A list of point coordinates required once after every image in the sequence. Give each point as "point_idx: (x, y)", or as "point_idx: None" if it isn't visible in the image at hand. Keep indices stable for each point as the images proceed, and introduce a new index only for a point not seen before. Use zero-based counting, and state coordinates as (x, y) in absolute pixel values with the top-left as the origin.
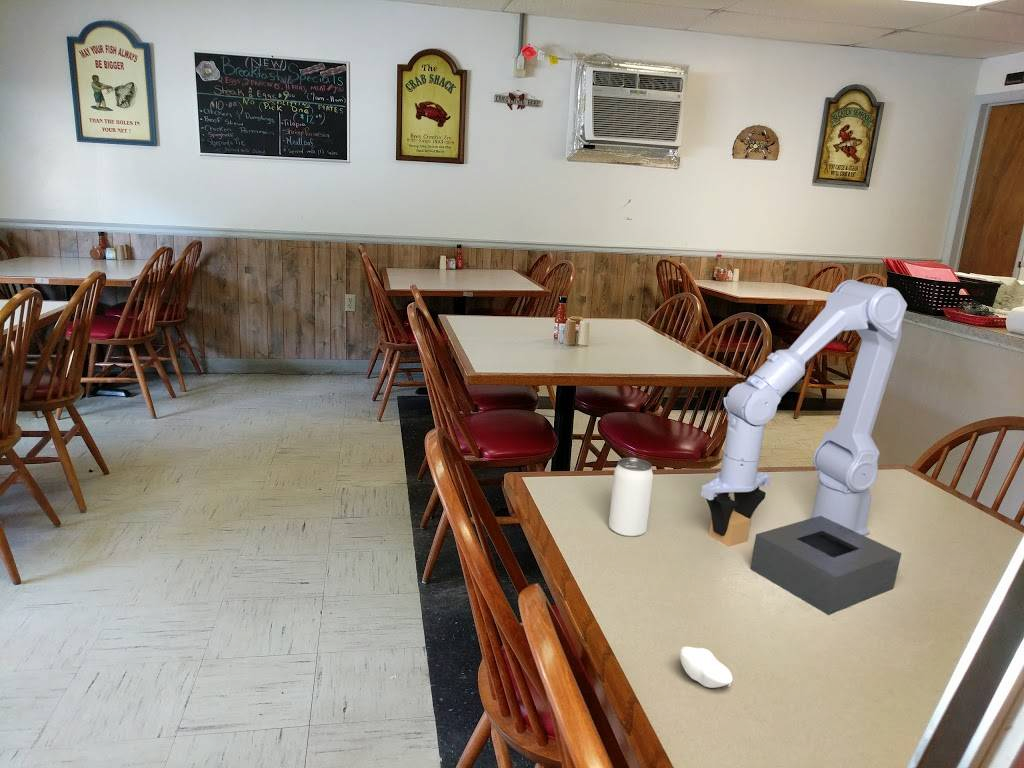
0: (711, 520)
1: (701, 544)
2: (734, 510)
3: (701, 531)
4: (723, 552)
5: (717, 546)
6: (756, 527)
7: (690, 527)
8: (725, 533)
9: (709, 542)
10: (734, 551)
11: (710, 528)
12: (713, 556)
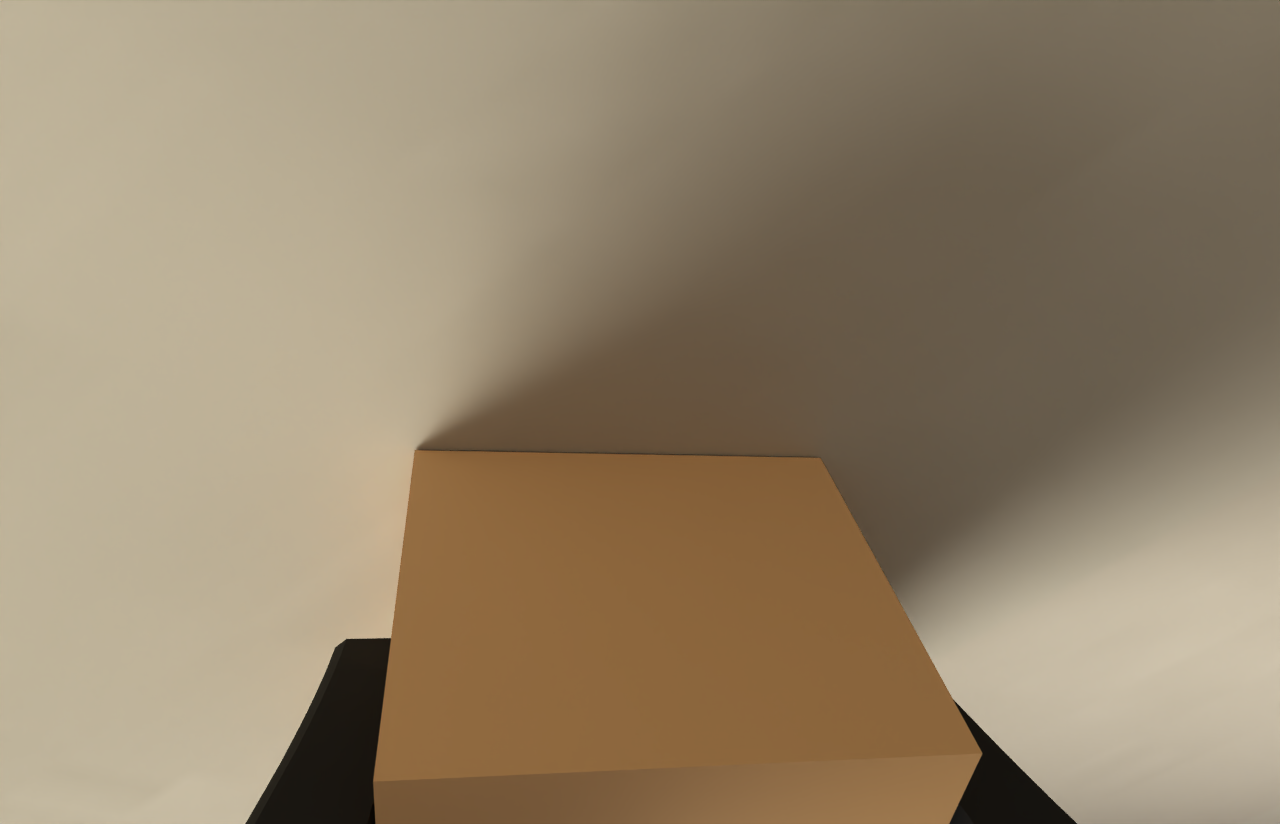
0: (390, 650)
1: (56, 589)
2: (969, 820)
3: (393, 313)
4: (226, 793)
5: (266, 691)
6: (1204, 557)
7: (303, 97)
8: None
9: (235, 592)
10: None
11: (409, 532)
12: (12, 816)
